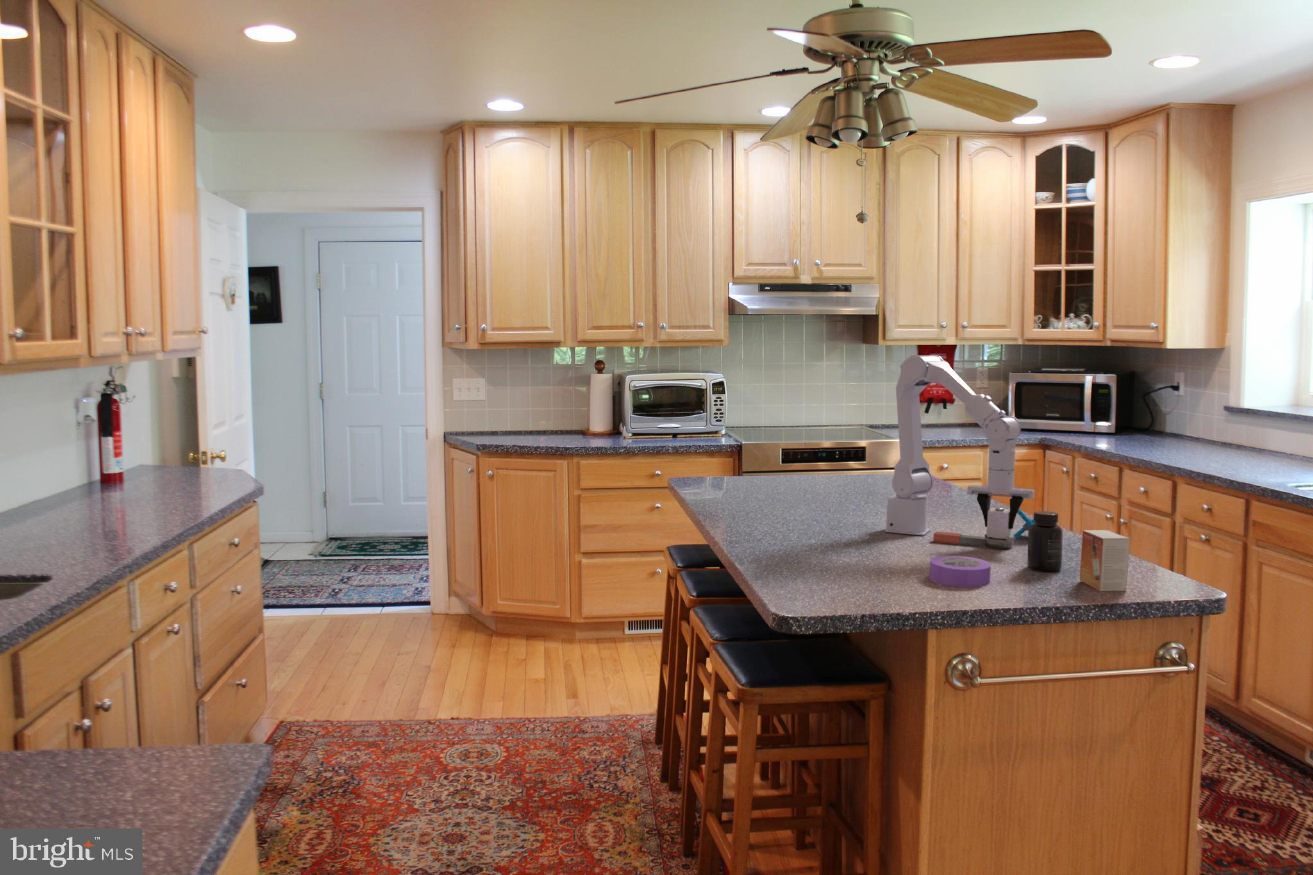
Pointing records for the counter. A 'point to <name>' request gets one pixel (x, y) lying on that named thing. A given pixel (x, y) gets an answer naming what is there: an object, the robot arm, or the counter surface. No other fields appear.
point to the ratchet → (973, 540)
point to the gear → (1026, 525)
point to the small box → (1104, 560)
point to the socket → (998, 523)
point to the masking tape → (960, 571)
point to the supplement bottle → (1045, 543)
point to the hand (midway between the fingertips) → (999, 527)
